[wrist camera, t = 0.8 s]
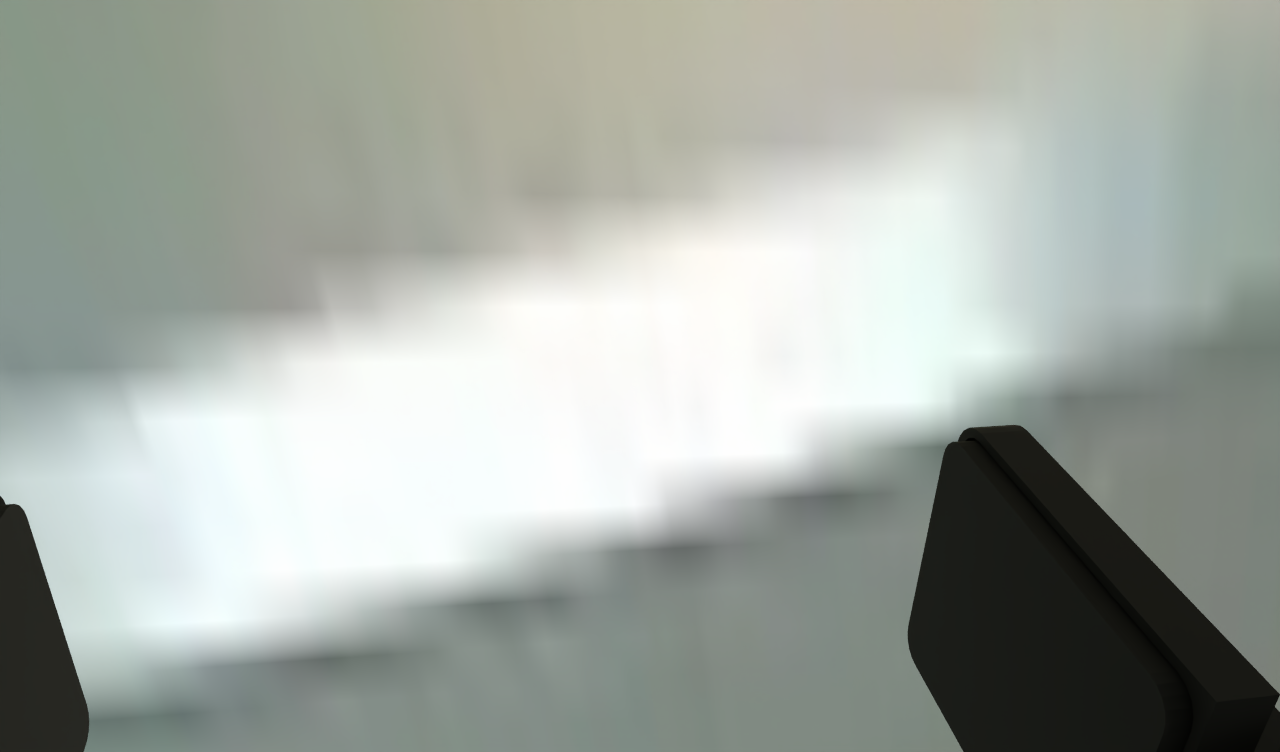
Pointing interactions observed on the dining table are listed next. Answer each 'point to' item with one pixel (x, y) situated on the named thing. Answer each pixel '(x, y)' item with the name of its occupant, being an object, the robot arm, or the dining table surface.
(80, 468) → the dining table surface
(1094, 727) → the robot arm
